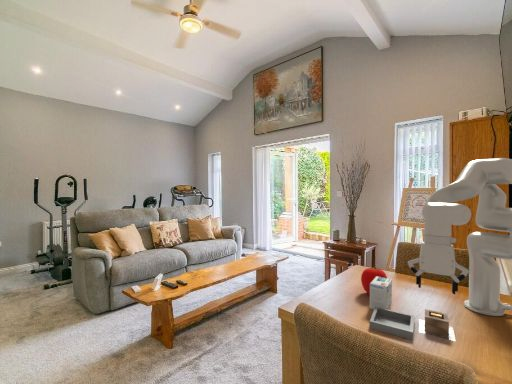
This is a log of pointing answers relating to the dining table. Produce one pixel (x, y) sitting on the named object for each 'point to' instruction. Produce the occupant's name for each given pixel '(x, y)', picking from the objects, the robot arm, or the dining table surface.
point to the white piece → (422, 330)
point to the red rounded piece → (371, 277)
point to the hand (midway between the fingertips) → (436, 289)
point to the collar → (437, 323)
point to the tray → (392, 322)
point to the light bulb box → (380, 293)
